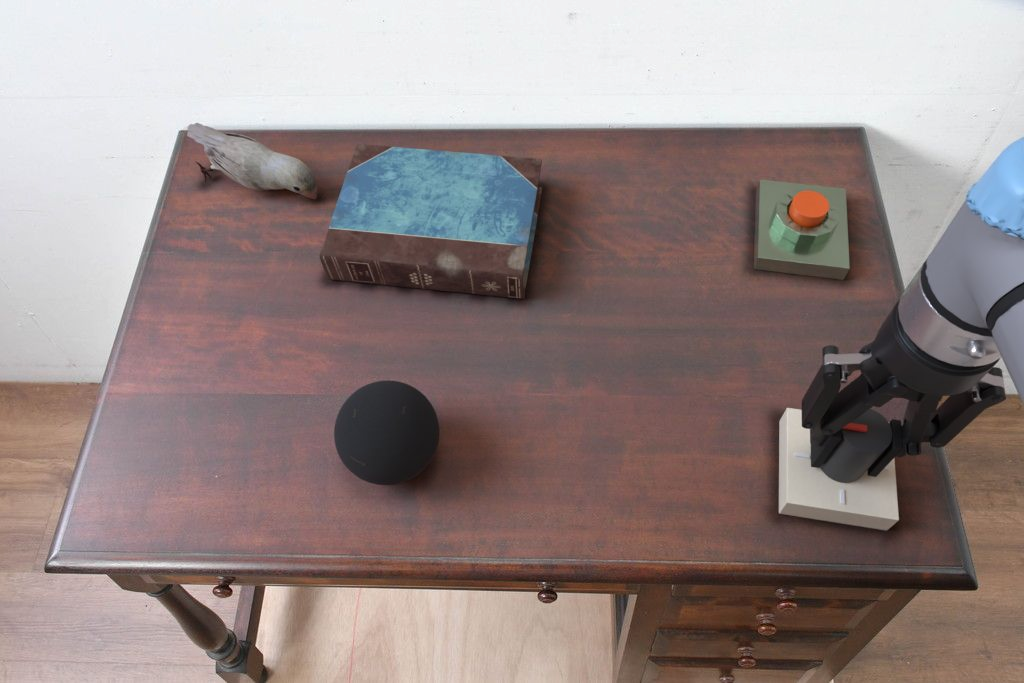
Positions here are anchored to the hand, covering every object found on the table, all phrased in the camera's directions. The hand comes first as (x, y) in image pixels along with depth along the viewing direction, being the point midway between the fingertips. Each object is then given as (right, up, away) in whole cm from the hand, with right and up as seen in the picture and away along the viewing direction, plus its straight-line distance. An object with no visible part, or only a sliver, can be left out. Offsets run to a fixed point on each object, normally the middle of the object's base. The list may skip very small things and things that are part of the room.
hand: (843, 458), depth 75 cm
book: (-40, +24, +21) cm, 51 cm away
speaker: (-43, 0, +6) cm, 43 cm away
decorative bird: (-63, +31, +26) cm, 75 cm away
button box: (+3, +24, +19) cm, 30 cm away
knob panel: (0, -2, +3) cm, 4 cm away
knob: (0, 0, 0) cm, 1 cm away
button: (+2, +26, +16) cm, 30 cm away
